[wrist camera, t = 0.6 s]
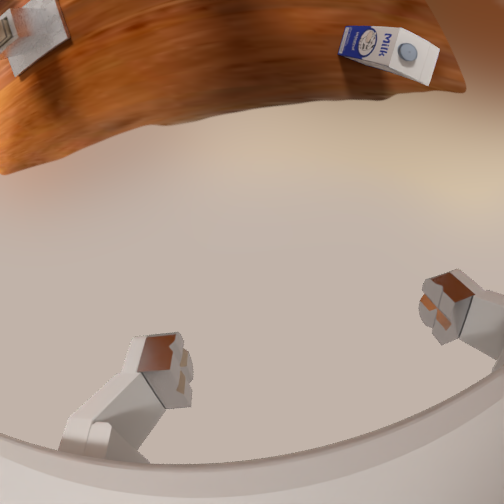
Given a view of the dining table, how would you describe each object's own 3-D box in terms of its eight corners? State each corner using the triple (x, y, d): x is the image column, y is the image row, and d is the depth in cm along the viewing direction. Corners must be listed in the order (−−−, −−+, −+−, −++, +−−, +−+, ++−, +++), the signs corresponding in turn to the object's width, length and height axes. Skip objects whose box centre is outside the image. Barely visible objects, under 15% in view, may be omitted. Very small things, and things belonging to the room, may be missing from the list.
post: (18, 30, 25) (-37, 40, 12) (34, 17, 25) (-20, 21, 12) (23, 45, 28) (-32, 59, 15) (39, 33, 27) (-15, 41, 15)
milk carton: (365, 66, 45) (429, 87, 30) (337, 55, 43) (396, 69, 29) (374, 37, 40) (441, 48, 26) (345, 25, 39) (408, 27, 24)
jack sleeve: (2, 27, 23) (-33, 33, 14) (54, -14, 22) (22, -19, 14) (18, 75, 33) (-16, 89, 24) (70, 37, 32) (40, 40, 23)
